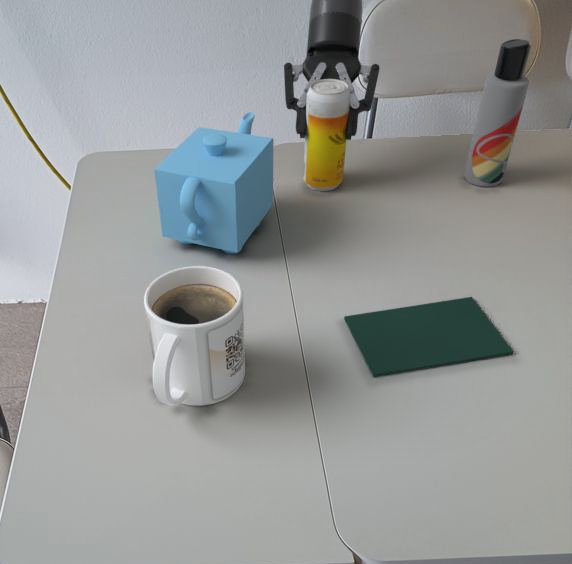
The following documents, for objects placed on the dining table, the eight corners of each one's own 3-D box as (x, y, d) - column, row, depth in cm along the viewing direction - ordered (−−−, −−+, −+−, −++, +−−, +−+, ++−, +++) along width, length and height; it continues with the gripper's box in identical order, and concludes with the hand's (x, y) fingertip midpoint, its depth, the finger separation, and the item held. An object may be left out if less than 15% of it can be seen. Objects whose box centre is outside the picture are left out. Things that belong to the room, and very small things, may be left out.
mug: (265, 387, 69) (265, 307, 61) (165, 433, 65) (152, 353, 57) (217, 332, 76) (212, 254, 68) (123, 371, 72) (107, 292, 64)
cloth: (471, 299, 78) (471, 296, 78) (512, 354, 71) (513, 351, 71) (344, 318, 77) (344, 316, 76) (373, 377, 69) (373, 374, 69)
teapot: (229, 275, 84) (225, 178, 75) (154, 257, 88) (141, 163, 78) (287, 194, 99) (289, 105, 89) (220, 182, 102) (216, 95, 93)
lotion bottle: (496, 190, 96) (534, 50, 83) (458, 182, 99) (489, 44, 85) (506, 174, 100) (544, 37, 86) (469, 166, 102) (500, 32, 89)
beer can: (345, 191, 98) (354, 93, 88) (305, 193, 98) (309, 95, 88) (339, 172, 103) (347, 76, 93) (301, 174, 103) (305, 78, 93)
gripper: (284, 9, 92) (274, 126, 91) (388, 9, 89) (378, 129, 89) (287, 36, 99) (277, 144, 99) (383, 37, 97) (374, 148, 96)
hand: (325, 136), depth 94 cm, fingers closed on beer can, 6 cm apart
